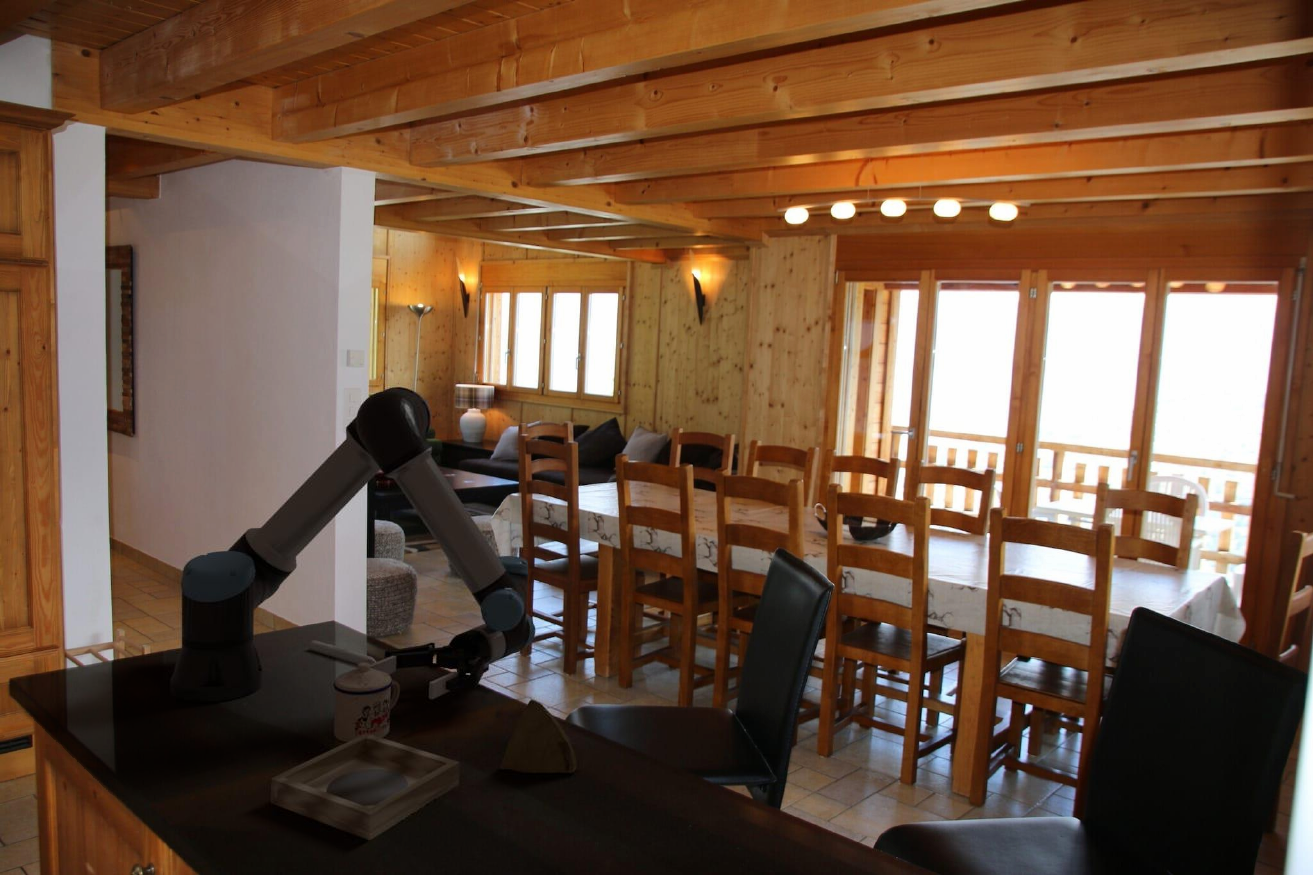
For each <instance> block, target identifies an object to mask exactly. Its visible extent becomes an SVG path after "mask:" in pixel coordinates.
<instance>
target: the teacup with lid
mask: <svg viewBox="0 0 1313 875" xmlns="http://www.w3.org/2000/svg"><path fill="white" fill-rule="evenodd" d="M356 665H357V666H356V668H354V669H352V670H350V671H347V672H343V673H342V674H339V675H338V676H336V678H335V680H334V681H333V685H332V686H333V689H334V712H333V713H334V714H333V715H334V716H333V717H334V718H333V721H334V722H333V734H334V737H335V738H336V739H337V740H339V741H341V742H343V743H346V742H349V741H351V740H353V739H355V738H357V737H359V736H361V735H364V734H366V733H367V734H370V735H374V736H377V737H380V738H383V739H384V738H385V737H386V736H387V735H388V734H389V732H390V724H391V723H390V722H391V710H392V708H393V707H394V706H395V705H396V704H397V702H398V700H399V697H400V691H401V687H400V684H399V682H397V681H395V680H393V679H392V677H391V675H390V674H387V673H385V672H383V671H379V670H375V669H373V668H370V664H369V663H366V662H363V663H359V664H356ZM391 687H392V689H391ZM391 690H392V694H391Z"/></svg>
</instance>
